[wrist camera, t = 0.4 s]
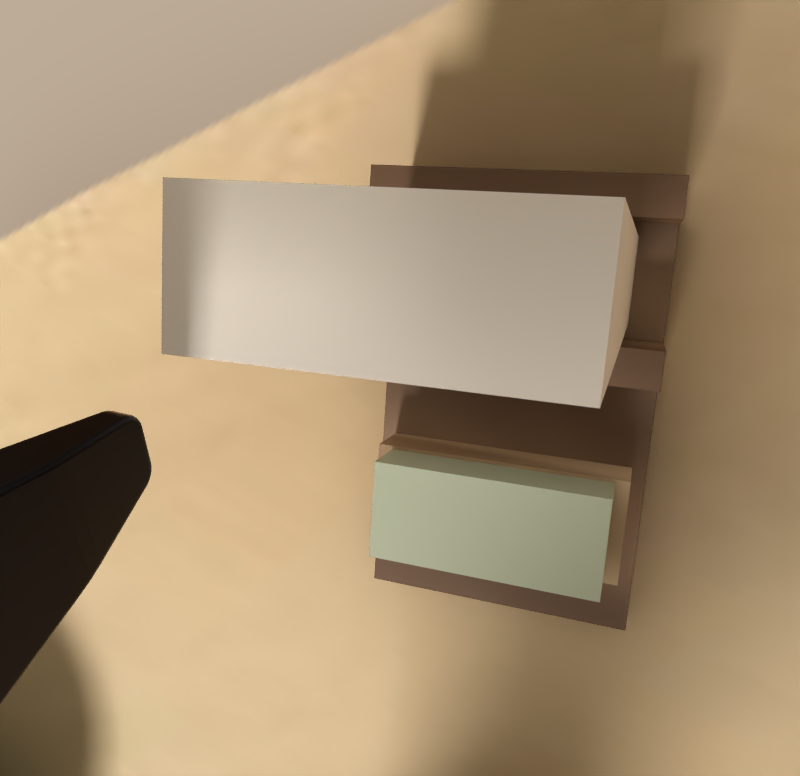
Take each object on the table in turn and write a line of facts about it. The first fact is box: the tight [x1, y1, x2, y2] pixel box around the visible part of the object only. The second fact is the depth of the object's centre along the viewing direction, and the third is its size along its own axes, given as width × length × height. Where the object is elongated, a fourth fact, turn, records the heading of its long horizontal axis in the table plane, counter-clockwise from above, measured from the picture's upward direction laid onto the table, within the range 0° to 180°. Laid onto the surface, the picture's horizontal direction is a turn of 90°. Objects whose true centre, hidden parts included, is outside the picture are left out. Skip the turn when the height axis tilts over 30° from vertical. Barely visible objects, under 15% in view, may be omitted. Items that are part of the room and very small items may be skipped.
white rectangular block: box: [162, 177, 639, 408], centre depth 15 cm, size 2×6×13 cm, turn 85°
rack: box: [370, 165, 689, 630], centre depth 22 cm, size 13×8×4 cm, turn 175°
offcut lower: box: [379, 433, 632, 586], centre depth 22 cm, size 3×7×2 cm, turn 85°
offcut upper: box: [369, 449, 615, 602], centre depth 21 cm, size 3×6×2 cm, turn 85°
